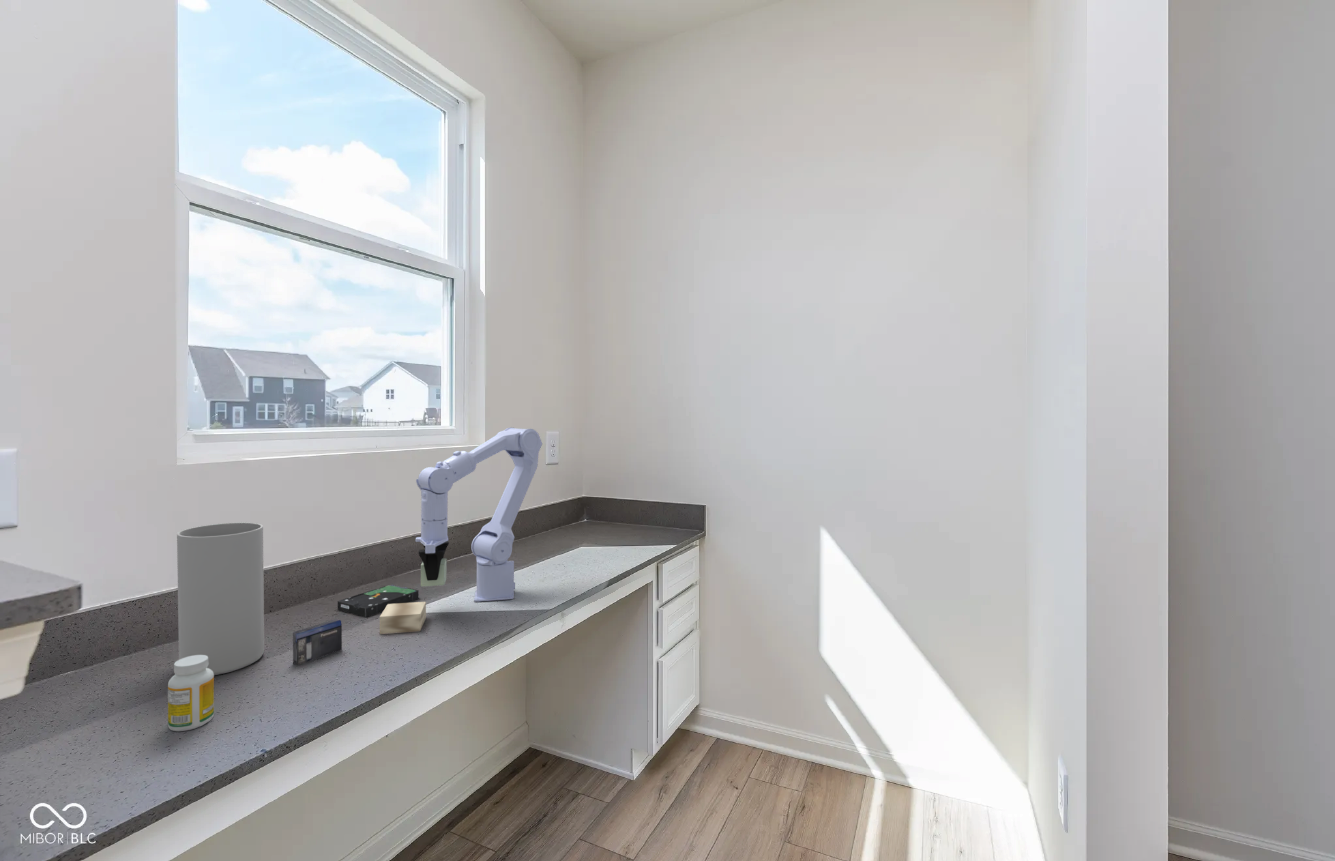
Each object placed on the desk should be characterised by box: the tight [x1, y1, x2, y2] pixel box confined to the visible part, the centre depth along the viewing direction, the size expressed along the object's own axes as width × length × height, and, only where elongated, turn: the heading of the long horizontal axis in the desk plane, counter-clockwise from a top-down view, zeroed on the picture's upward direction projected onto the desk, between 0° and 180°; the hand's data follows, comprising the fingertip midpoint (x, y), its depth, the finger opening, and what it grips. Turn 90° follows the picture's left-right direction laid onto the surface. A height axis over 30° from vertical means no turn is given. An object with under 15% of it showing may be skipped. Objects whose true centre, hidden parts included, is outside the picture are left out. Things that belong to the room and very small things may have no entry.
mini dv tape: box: [292, 618, 343, 666], centre depth 110 cm, size 8×2×6 cm, turn 149°
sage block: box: [420, 557, 447, 587], centre depth 134 cm, size 5×5×5 cm
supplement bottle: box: [167, 655, 215, 732], centre depth 86 cm, size 5×5×10 cm
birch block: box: [379, 601, 427, 635], centre depth 126 cm, size 8×8×4 cm
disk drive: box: [337, 584, 420, 618], centre depth 139 cm, size 10×3×15 cm
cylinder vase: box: [176, 522, 265, 676], centre depth 106 cm, size 12×12×25 cm
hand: (434, 576), depth 134 cm, fingers closed on sage block, 5 cm apart
